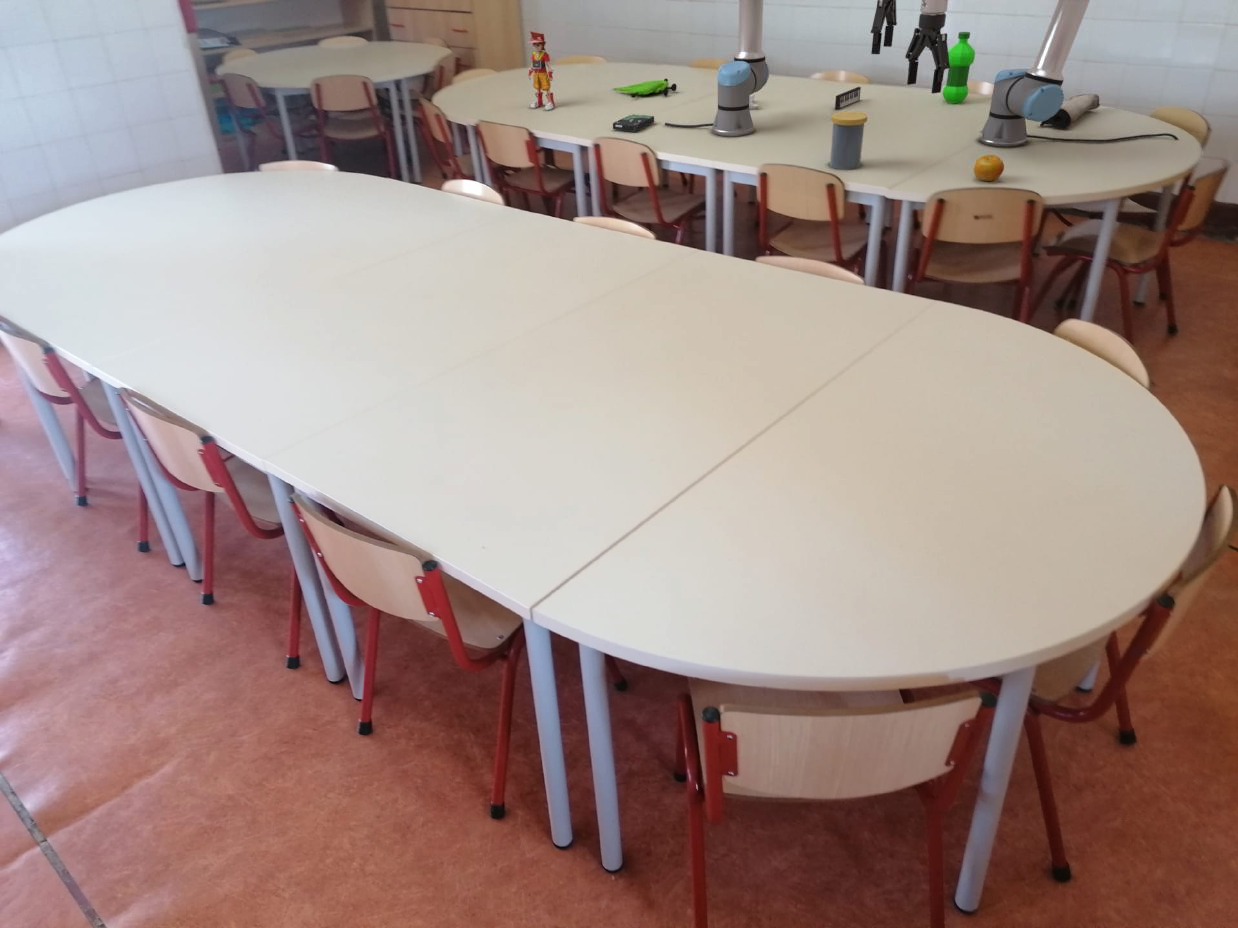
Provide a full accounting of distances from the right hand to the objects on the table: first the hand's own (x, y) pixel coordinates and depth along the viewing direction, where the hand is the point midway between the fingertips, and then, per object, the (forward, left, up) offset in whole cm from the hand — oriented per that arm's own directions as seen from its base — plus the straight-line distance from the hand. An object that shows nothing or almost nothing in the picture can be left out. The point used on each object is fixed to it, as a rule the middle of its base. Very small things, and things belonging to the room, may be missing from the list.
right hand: (923, 88), depth 279 cm
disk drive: (+68, -89, -24) cm, 114 cm away
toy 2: (+47, -144, -24) cm, 153 cm away
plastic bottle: (-57, -64, -24) cm, 89 cm away
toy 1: (+93, -138, -24) cm, 168 cm away
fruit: (-11, +23, -24) cm, 35 cm away
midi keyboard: (-20, -80, -24) cm, 86 cm away
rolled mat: (-78, -23, -24) cm, 85 cm away
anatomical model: (+18, -99, -24) cm, 103 cm away
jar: (+19, -10, -24) cm, 32 cm away
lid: (+19, -10, -8) cm, 23 cm away
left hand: (-7, -38, +4) cm, 39 cm away
